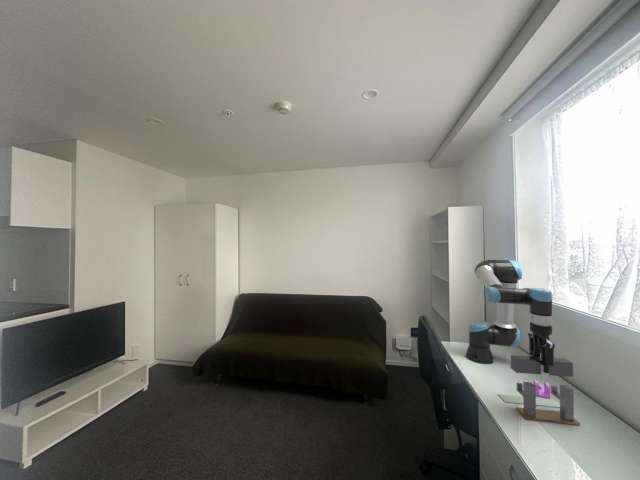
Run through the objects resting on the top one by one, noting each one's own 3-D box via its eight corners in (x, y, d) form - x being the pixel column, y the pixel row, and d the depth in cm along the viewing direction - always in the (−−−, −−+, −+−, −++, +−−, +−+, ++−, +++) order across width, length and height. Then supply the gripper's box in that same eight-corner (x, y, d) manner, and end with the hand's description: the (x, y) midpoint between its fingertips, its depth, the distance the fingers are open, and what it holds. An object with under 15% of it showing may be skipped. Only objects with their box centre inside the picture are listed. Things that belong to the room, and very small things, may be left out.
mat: (498, 394, 126) (498, 393, 126) (553, 399, 122) (553, 398, 122) (505, 402, 120) (505, 401, 120) (563, 408, 116) (563, 407, 116)
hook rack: (511, 405, 118) (511, 374, 118) (561, 410, 115) (560, 378, 115) (525, 419, 108) (525, 386, 109) (580, 425, 105) (579, 391, 105)
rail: (510, 368, 117) (510, 355, 117) (565, 372, 114) (565, 358, 114) (515, 372, 113) (515, 359, 113) (573, 376, 110) (572, 362, 110)
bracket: (550, 399, 123) (550, 385, 123) (535, 396, 125) (535, 382, 126) (543, 386, 134) (542, 373, 134) (529, 384, 137) (529, 370, 137)
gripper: (519, 317, 123) (519, 366, 123) (544, 329, 106) (544, 386, 106) (537, 318, 122) (537, 367, 121) (565, 330, 105) (565, 388, 105)
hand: (540, 376), depth 114 cm, fingers closed on rail, 4 cm apart
